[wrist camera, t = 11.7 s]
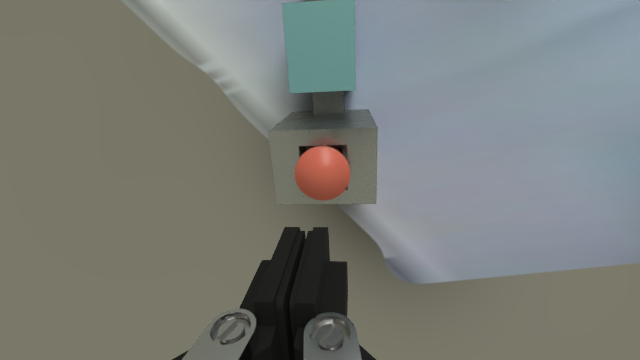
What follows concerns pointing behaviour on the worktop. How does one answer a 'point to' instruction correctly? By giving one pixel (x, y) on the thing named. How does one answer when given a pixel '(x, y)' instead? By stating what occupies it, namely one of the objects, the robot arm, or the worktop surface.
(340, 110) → the rail
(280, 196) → the cabinet
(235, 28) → the worktop surface
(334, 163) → the knob
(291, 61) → the carriage
